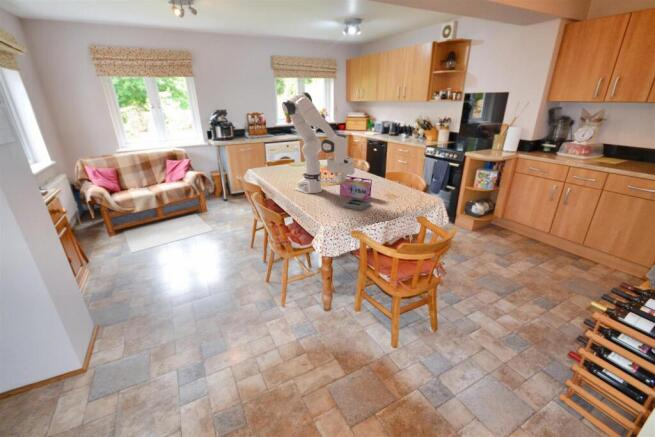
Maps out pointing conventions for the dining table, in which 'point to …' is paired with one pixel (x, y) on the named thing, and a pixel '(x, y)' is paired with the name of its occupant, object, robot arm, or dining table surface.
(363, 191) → the gum box
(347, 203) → the keyhole plate
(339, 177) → the beige block
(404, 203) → the dining table surface
